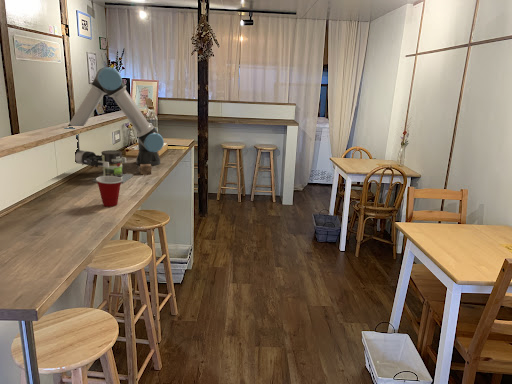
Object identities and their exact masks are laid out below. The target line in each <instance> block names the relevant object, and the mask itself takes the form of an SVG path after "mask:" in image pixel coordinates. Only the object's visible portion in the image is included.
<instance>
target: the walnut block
mask: <svg viewBox="0 0 512 384" xmlns="http://www.w3.org/2000/svg"><path fill="white" fill-rule="evenodd" d="M139 167H140V168H139V169H140V171H139V172H140V175H141V174H147V175H152V166H151V164H140V165H139Z"/></svg>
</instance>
